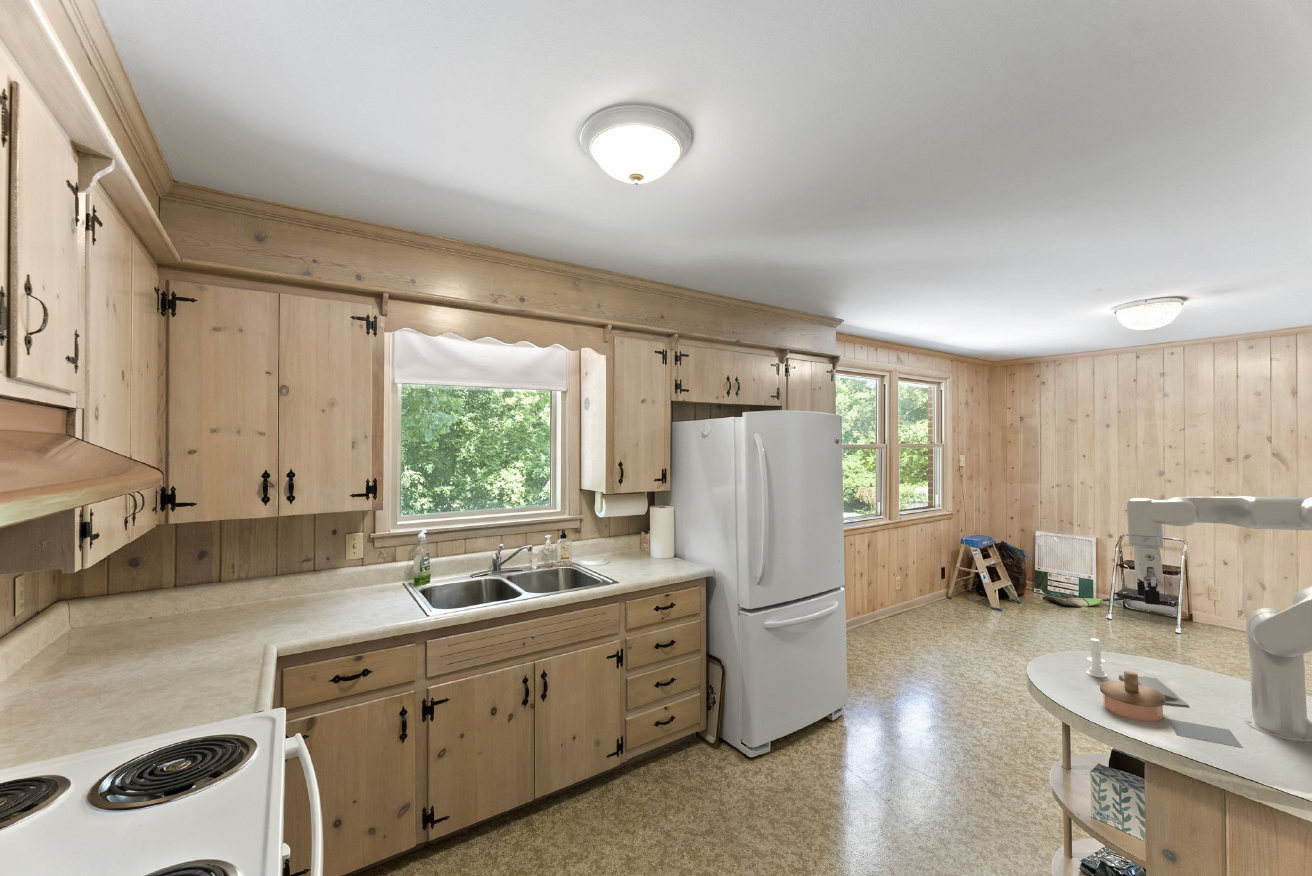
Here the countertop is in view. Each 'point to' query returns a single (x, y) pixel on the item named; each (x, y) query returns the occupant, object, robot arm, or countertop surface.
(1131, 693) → the lid
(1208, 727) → the mat
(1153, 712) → the bowl
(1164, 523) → the robot arm
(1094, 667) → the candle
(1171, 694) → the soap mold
